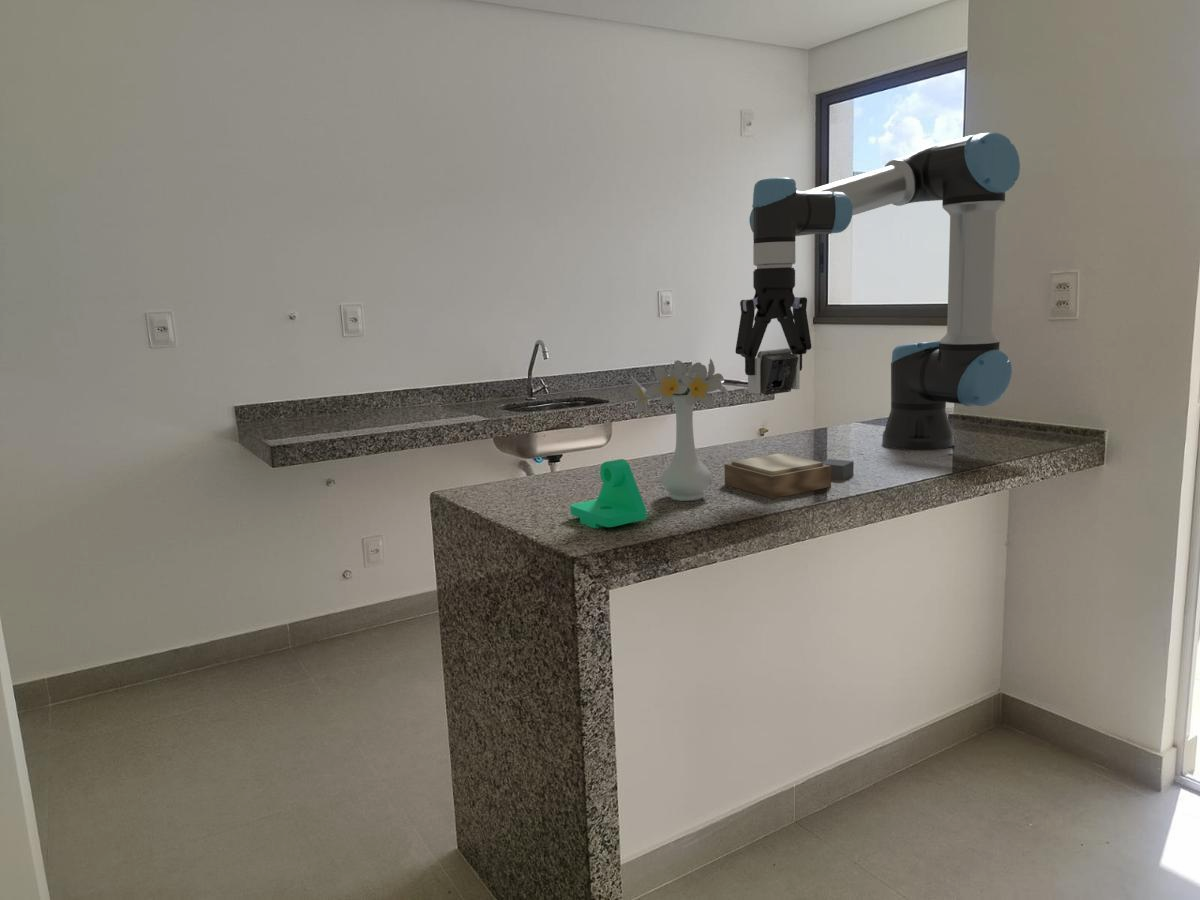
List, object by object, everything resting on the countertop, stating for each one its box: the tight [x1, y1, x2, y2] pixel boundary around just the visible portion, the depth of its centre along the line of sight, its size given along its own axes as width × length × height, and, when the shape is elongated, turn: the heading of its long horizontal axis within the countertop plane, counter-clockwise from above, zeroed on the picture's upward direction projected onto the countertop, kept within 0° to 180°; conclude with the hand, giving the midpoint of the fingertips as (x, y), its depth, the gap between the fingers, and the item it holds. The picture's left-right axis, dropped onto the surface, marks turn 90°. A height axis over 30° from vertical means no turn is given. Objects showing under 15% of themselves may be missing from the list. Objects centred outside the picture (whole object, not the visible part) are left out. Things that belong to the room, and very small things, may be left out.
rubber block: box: [822, 458, 855, 481], centre depth 169 cm, size 5×5×3 cm
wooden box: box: [724, 453, 832, 499], centre depth 163 cm, size 14×14×5 cm
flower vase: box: [628, 357, 730, 502], centre depth 155 cm, size 13×18×25 cm
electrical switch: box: [752, 347, 798, 396], centre depth 160 cm, size 8×5×8 cm, turn 125°
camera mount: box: [569, 458, 647, 529], centre depth 143 cm, size 12×8×10 cm, turn 34°
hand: (773, 390), depth 161 cm, fingers closed on electrical switch, 8 cm apart
